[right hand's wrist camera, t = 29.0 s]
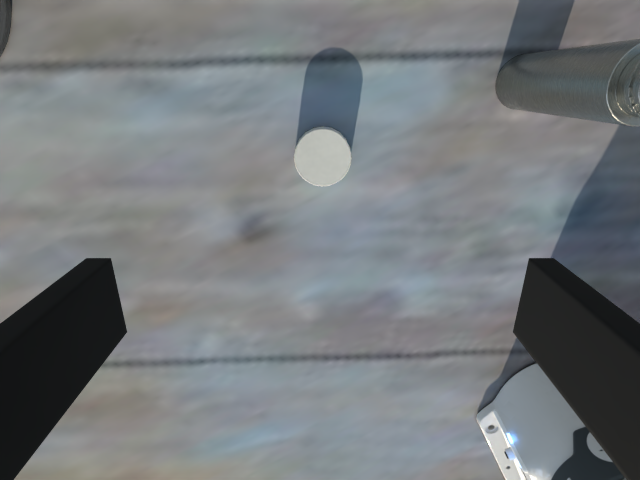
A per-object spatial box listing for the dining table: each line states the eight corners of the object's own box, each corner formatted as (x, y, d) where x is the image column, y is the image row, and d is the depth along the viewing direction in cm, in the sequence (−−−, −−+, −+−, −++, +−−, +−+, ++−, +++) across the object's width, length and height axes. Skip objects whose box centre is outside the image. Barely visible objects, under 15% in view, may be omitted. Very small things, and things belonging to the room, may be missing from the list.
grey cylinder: (484, 91, 36) (609, 99, 21) (519, 43, 35) (682, 12, 19) (523, 119, 37) (670, 146, 21) (558, 72, 36) (744, 66, 20)
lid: (359, 166, 39) (361, 170, 37) (311, 191, 40) (310, 196, 38) (335, 115, 37) (335, 117, 35) (284, 142, 38) (283, 145, 36)
